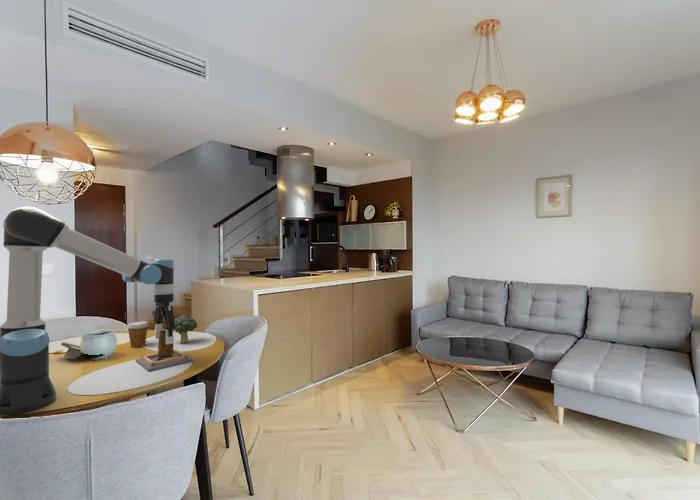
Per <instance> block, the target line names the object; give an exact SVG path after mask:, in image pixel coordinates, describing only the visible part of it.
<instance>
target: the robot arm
mask: <svg viewBox="0 0 700 500" xmlns="http://www.w3.org/2000/svg"><path fill="white" fill-rule="evenodd" d="M2 228H3V247H4V248H5V249H7V251H8V252H9V255H8V256H9V257H8V281H7V302H6V305H7V307H6V321H4V322H3V323H2V324H0V416H13V415H19V414H23V413H27V412H28V413H29V412H31V411H35V410H37V409H41V408H44V407H45V406H47V405H50V404H51V403H53V402H54V401H55V400H56V398H57V390H56V388H55V386H54V384H53V382H52V379H51V377H50V359H49V358H50V353H49V352H50V351H49V350H50V345H49V344H50V337H49V333H48V331H46V321H44V320H43V319H42V318H41V308H42V307H41V304H42V303H41V301H42V279H43V278H42V275H43V274H42V273H43V257H44V256H43V254H44V251H46V250H48V249H50V248H51V249H52V248H57V249H59V250H62V251H64V252H68V253H69V254H71V255H74V256H77V257H79V258H81V259H84V260H86V261H89V262H92V263H94V264H97V265H99V266H101V267H103V268H106V269H109V270H111V271H113V272H116V273H119V274H120V275H121V277H122V280H123V282H125V283H141V284H145V285H154V287H153V288H154V290H153V291H154V301H153V302H154V303H155V310H154V316H153V322H154V324H155V326H154V328H155V329H154V330H155V333H154V334H155V337H154V338H155V339H159V336H160V331H163V323H164V322H165V323H164V324H165V326H166V327H165V328H164V329H165V330H166V345H167V344H172V343H173V344H174V340H173V336H174V330H173V328H175V321H174V320H175V316H174V310H173V309H174V307H173V305H170V303H172V302H174V298H175V297H174V293H173V292H174V288H175V284H174V277H175V276H174V271H175V267H174V260H173V259H172V258H156V259H154V262H153V263H148V262H145V261H142V260H141V259H138V258H137V257H134V256H132V255H130V254H128V253H126V252H123V251H121V250H119V249H116V248H115V247H113V246H110V245H107V244H106V243H103V242H101V241H99V240H97V239H94V238H92V237H90V236H88V235H85V234H83V233H81V232H79V231H77V230H74V229H72V228H70V227H69V225H68V223H66V222H64V221H62V220H61V219H58V218H56V217H54V216H52V215H50V214H49V213H47V212H46V211H44V210H42V209H39V208H37V207H34V206H33V207H32V206H21V207H18V208H15V209H13V210H11V211H10V212H8V214H7V215H6V217H5V218H4V220H3V227H2ZM163 319H164V321H163Z"/></svg>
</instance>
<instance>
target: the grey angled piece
mask: <svg viewBox="0 0 700 500" xmlns="http://www.w3.org/2000/svg"><path fill="white" fill-rule="evenodd" d="M57 341H58V342H60V344H61V345H60V346H62V347H64V348H66V349H67V351H65V354H64V358H66V359H69V360H77V358H79V357H80V356H81V355H82V354H83V353H81V351H80V350H81V349H80V344H76V343H72V342H68V341H65V340H64V341H63V340H60V339H57Z"/></svg>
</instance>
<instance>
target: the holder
mask: <svg viewBox="0 0 700 500" xmlns="http://www.w3.org/2000/svg"><path fill="white" fill-rule="evenodd" d="M173 356H174V357H172V358H164V359H155V358H157V357H158V352H156V353H151V354H146V355H142V356H141V358H137V359H136V358H135V362H136V363H137V364H138V365H139V366H141V367H142V368H143V369H144V370H145V371H147V372H148V373H149V372H152V371H156V370H162V369H166V368H171V367H175V366H179V365H182V364H186V363H192V362H194V358H192V357H191V356H188V355H187V354H185V353H183V352H182V351H180V350H178V349H173Z"/></svg>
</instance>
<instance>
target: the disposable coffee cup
mask: <svg viewBox="0 0 700 500" xmlns="http://www.w3.org/2000/svg"><path fill="white" fill-rule="evenodd" d="M126 327H127V330H128V337H129V343H130V348H134V349H136V348H141V347H142V348H143V347H144V346H146V342H147V341H146V340H147V333H148V327H149V323H148V321H146V320H139V321H131V322H129V323H127V326H126Z"/></svg>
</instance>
